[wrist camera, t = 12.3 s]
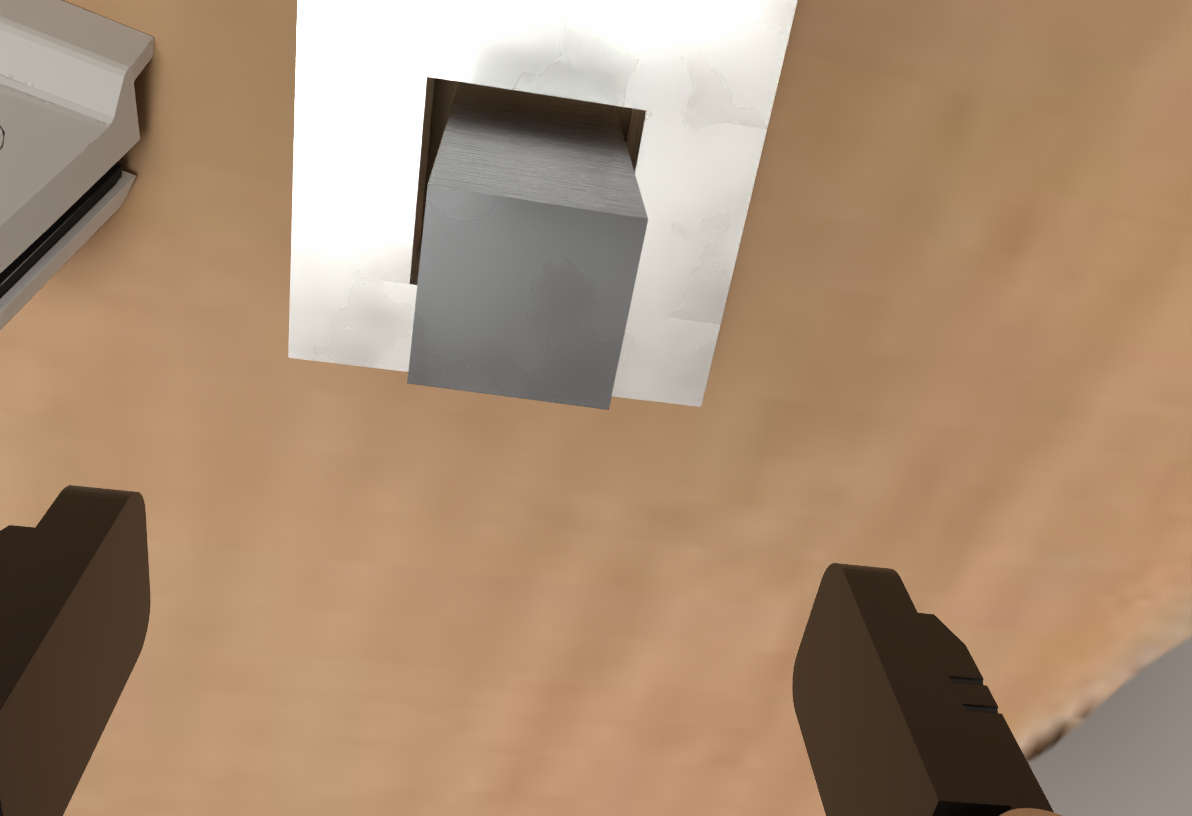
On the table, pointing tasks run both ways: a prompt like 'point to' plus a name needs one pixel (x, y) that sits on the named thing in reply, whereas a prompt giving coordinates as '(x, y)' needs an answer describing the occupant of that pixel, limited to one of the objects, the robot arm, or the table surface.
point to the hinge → (61, 135)
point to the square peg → (527, 249)
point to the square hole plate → (544, 66)
